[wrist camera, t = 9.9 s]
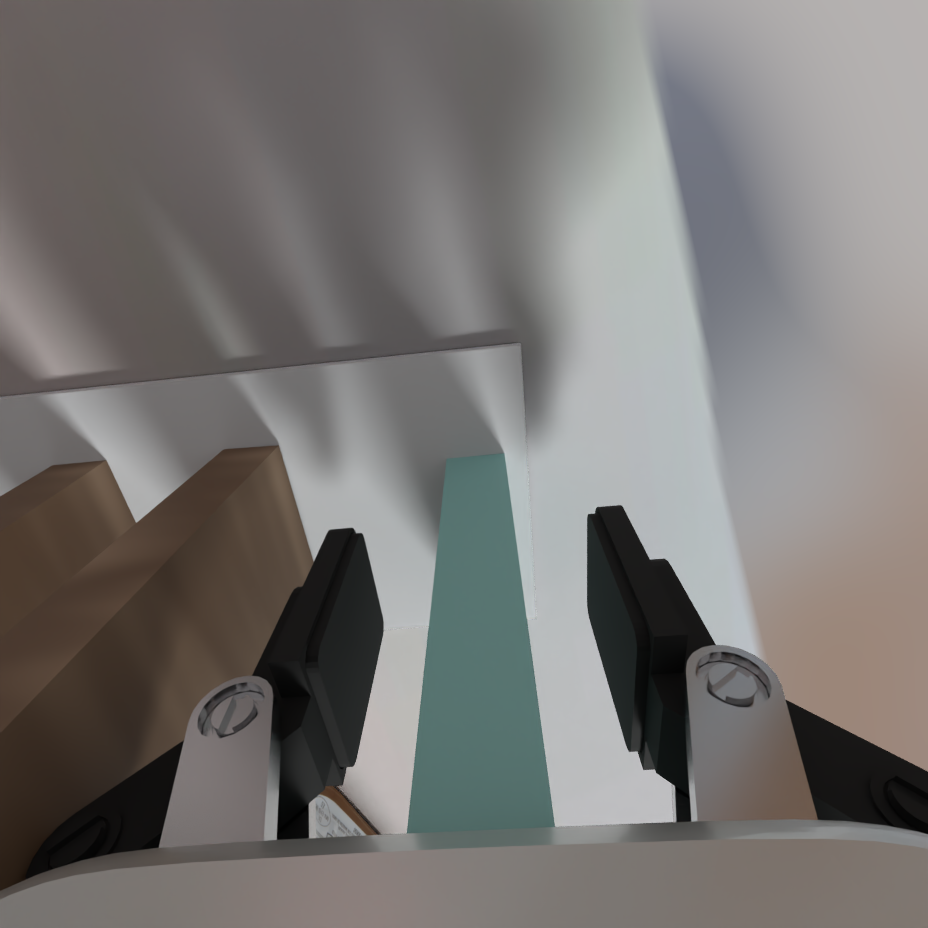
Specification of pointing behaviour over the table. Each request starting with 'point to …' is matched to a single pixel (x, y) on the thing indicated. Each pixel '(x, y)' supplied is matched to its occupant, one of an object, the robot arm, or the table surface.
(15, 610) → the domino
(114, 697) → the domino
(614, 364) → the table surface
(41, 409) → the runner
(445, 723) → the domino
